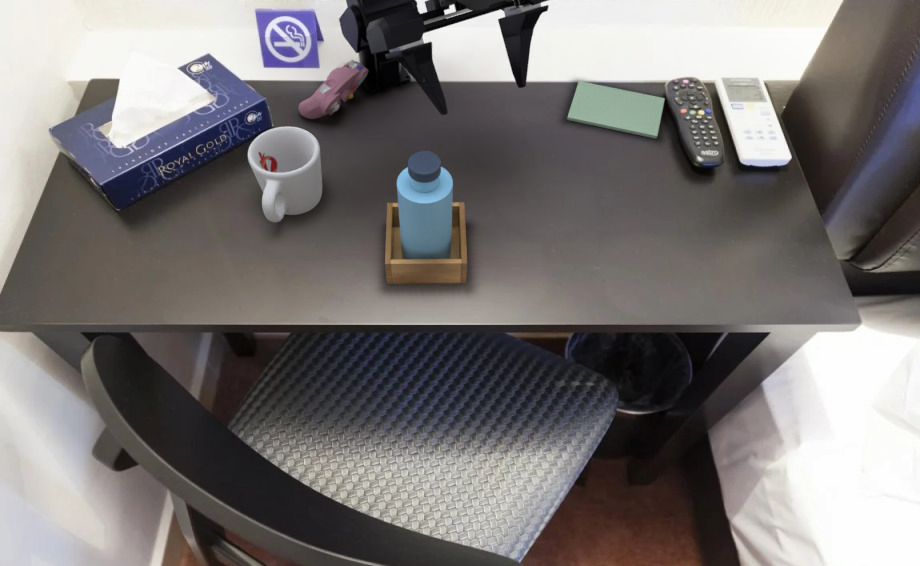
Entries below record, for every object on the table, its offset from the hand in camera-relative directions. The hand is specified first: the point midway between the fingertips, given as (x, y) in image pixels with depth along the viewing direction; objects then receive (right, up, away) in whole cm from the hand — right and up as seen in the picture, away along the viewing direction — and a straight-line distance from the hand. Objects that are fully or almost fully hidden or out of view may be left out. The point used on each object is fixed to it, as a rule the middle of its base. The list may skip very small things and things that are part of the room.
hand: (483, 100), depth 68 cm
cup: (-22, -9, +12) cm, 27 cm away
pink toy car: (-19, +6, +22) cm, 30 cm away
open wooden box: (-6, -15, +8) cm, 18 cm away
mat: (+19, +6, +22) cm, 30 cm away
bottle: (-6, -15, +7) cm, 18 cm away
